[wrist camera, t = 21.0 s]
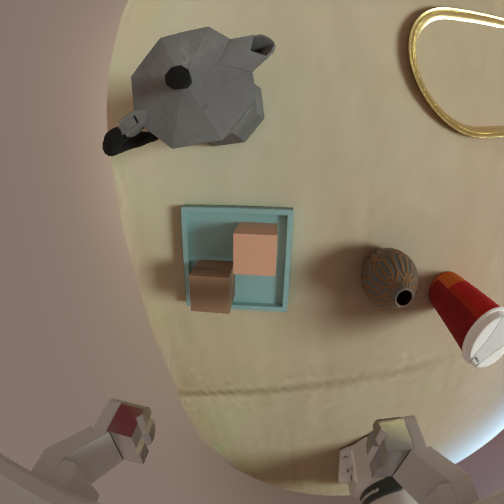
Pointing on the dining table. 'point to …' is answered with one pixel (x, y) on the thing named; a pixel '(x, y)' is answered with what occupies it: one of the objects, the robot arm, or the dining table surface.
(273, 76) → the dining table surface
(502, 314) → the paper cup
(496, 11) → the dining table surface
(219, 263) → the walnut block
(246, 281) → the tray
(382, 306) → the vase
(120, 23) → the dining table surface
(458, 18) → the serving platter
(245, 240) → the terracotta block
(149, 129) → the coffeepot
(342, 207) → the dining table surface
